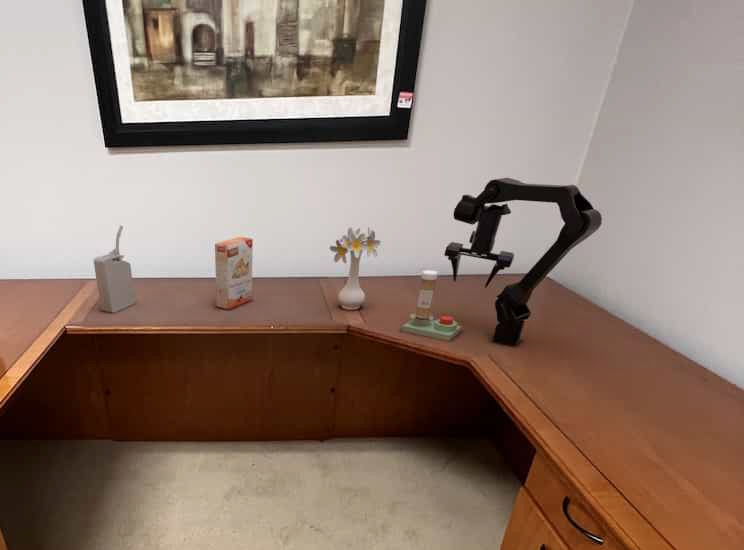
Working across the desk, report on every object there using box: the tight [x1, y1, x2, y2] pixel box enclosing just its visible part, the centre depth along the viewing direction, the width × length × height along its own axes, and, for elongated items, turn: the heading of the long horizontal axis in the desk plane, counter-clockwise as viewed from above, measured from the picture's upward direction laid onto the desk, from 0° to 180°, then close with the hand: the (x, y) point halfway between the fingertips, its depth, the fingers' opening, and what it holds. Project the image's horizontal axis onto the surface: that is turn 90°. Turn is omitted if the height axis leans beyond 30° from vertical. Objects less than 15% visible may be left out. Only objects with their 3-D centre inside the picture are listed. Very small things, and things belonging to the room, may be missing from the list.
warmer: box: [401, 318, 462, 342], centre depth 172 cm, size 15×10×4 cm, turn 53°
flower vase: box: [329, 226, 381, 311], centre depth 185 cm, size 13×18×25 cm
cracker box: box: [214, 236, 254, 310], centre depth 192 cm, size 14×6×21 cm, turn 143°
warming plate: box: [409, 312, 434, 322], centre depth 173 cm, size 7×7×1 cm
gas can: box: [93, 224, 136, 314], centre depth 190 cm, size 15×5×25 cm, turn 150°
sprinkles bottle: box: [414, 269, 439, 319], centre depth 168 cm, size 5×5×13 cm
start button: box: [440, 315, 454, 325], centre depth 169 cm, size 4×4×2 cm
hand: (470, 284), depth 168 cm, fingers open, 9 cm apart
